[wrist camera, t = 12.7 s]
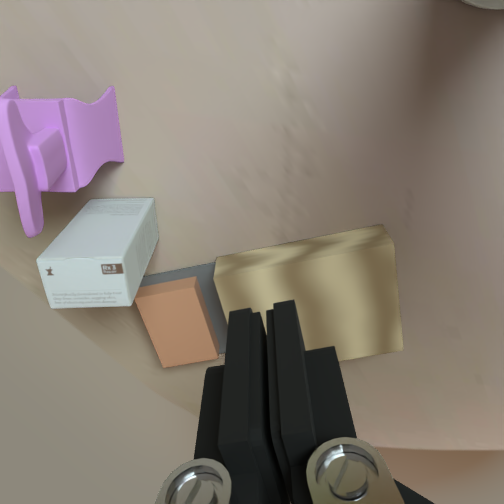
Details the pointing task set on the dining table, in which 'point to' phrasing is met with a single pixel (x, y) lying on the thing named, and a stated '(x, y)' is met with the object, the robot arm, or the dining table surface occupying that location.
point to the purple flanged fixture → (53, 147)
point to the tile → (178, 322)
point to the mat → (208, 291)
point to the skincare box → (100, 254)
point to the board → (323, 289)
